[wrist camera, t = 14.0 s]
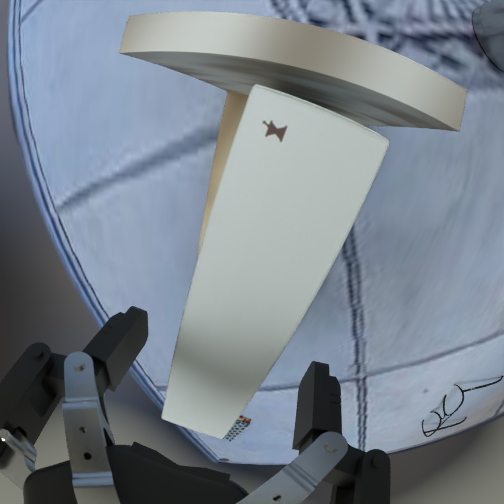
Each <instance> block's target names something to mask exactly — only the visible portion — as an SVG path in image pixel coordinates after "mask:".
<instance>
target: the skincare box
mask: <svg viewBox="0 0 504 504" xmlns="http://www.w3.org/2000/svg"><path fill="white" fill-rule="evenodd" d="M389 145H390V142H389V140H388V139H387V138H385V137H383V136H382V135H380V134H378V133H376V132H375V131H373V130H371V129H369V128H367V127H365V126H364V125H362V124H360V123H357V122H355V121H353V120H351V119H349V118H347V117H344V116H342V115H340V114H338V113H335V112H333V111H331V110H328V109H326V108H323V107H321V106H319V105H316V104H314V103H311V102H308V101H306V100H303V99H300V98H298V97H295V96H292V95H289V94H287V93H284V92H281V91H278V90H275V89H271V88H268V87H265V86H261V85H258V84H256V85H254V86H253V88H252V89H251V91H250V94H249V97H248V100H247V103H246V106H245V108H244V111H243V114H242V117H241V120H240V123H239V126H238V128H237V131H236V134H235V137H234V140H233V143H232V146H231V149H230V152H229V155H228V158H227V161H226V164H225V168H224V171H223V174H222V177H221V181H220V184H219V187H218V190H217V193H216V197H215V200H214V203H213V206H212V210H211V213H210V216H209V220H208V223H207V227H206V230H205V233H204V237H203V241H202V245H201V248H200V252H199V256H198V260H197V264H196V268H195V271H194V275H193V278H192V282H191V285H190V289H189V293H188V297H187V300H186V304H185V308H184V312H183V316H182V320H181V325H180V329H179V333H178V337H177V342H176V346H175V350H174V355H173V359H172V364H171V370H170V375H169V380H168V385H167V391H166V396H165V402H164V407H163V412H162V419H164V420H167V421H169V422H172V423H175V424H177V425H180V426H183V427H186V428H189V429H191V430H194V431H197V432H200V433H203V434H207V435H210V436H213V437H217V438H220V439H223V438H224V437H225V435H226V434H227V433H228V431H229V430H230V429H231V427H232V426H233V424H234V423H235V422H236V420H237V419H238V418H239V416H240V415H241V413H242V412H243V410H244V409H245V407H246V406H247V405H248V403H249V402H250V400H251V399H252V397H253V396H254V395H255V393H256V392H257V390H258V389H259V387H260V386H261V384H262V383H263V381H264V380H265V378H266V377H267V375H268V374H269V372H270V371H271V369H272V367H273V366H274V364H275V363H276V361H277V360H278V358H279V357H280V355H281V353H282V352H283V350H284V349H285V347H286V345H287V344H288V342H289V340H290V339H291V337H292V336H293V334H294V332H295V331H296V329H297V327H298V326H299V324H300V322H301V321H302V319H303V317H304V315H305V314H306V312H307V310H308V309H309V307H310V305H311V303H312V302H313V300H314V298H315V296H316V294H317V293H318V291H319V289H320V287H321V286H322V284H323V282H324V280H325V278H326V276H327V275H328V273H329V271H330V269H331V267H332V265H333V263H334V261H335V259H336V258H337V256H338V254H339V252H340V250H341V248H342V246H343V244H344V242H345V240H346V238H347V236H348V234H349V232H350V230H351V228H352V226H353V224H354V222H355V220H356V218H357V216H358V214H359V212H360V210H361V207H362V205H363V203H364V201H365V199H366V197H367V195H368V193H369V190H370V188H371V186H372V184H373V182H374V179H375V177H376V175H377V172H378V170H379V168H380V166H381V163H382V161H383V159H384V156H385V154H386V151H387V149H388V147H389Z"/></svg>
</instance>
